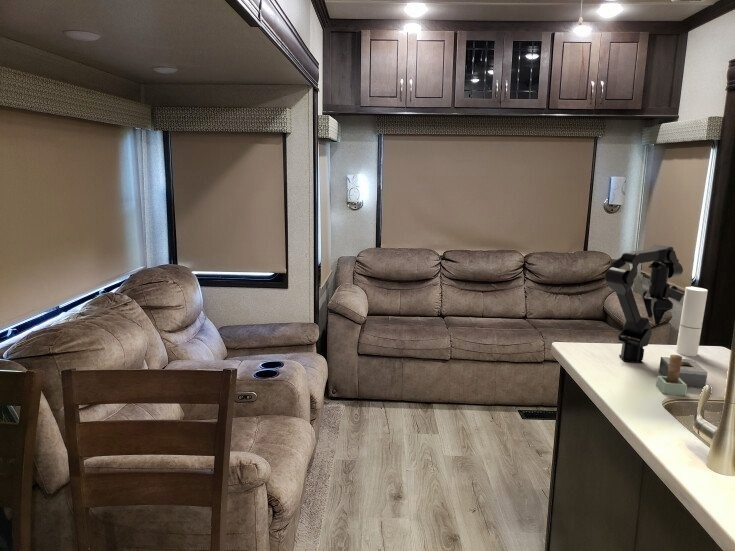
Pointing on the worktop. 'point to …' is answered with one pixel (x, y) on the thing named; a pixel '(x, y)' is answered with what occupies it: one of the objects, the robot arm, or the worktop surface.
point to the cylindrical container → (691, 321)
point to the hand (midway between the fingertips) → (653, 321)
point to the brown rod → (674, 369)
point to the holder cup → (671, 386)
